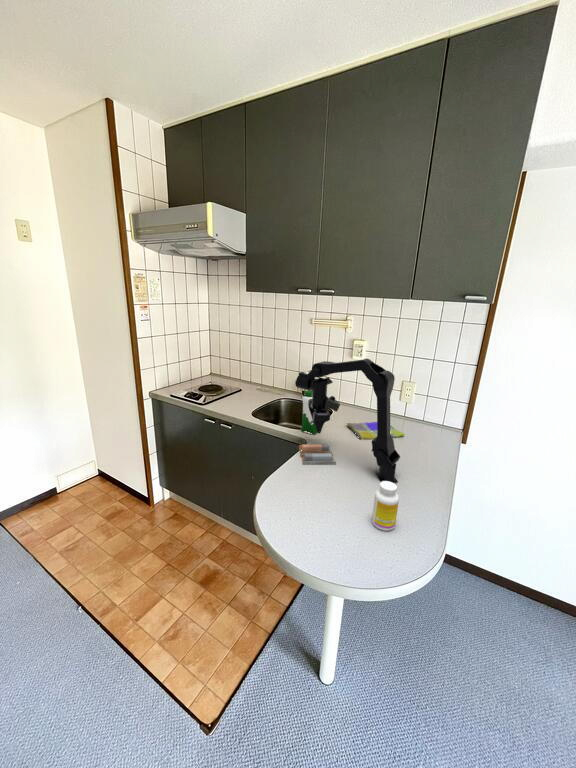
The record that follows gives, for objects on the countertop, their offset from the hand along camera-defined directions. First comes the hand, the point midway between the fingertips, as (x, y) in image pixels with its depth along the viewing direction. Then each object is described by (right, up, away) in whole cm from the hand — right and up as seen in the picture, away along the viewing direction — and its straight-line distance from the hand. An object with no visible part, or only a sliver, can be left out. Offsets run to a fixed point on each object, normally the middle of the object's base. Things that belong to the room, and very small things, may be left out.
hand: (317, 428), depth 131 cm
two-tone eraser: (-1, -10, +3) cm, 10 cm away
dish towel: (+31, -6, +27) cm, 42 cm away
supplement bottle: (+16, -23, -38) cm, 47 cm away
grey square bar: (0, -12, -5) cm, 13 cm away
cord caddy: (0, -12, -1) cm, 12 cm away
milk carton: (-1, -5, +24) cm, 25 cm away
